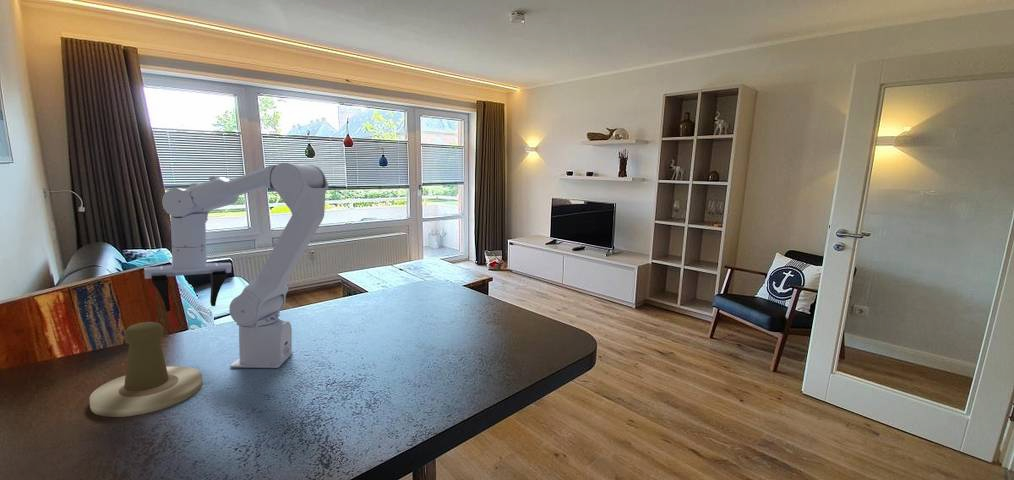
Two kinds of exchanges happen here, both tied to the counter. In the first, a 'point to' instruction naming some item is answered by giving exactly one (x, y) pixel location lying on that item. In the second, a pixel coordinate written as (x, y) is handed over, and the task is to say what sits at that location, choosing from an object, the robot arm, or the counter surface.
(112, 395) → the birch stand
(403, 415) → the counter surface
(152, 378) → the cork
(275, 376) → the counter surface
